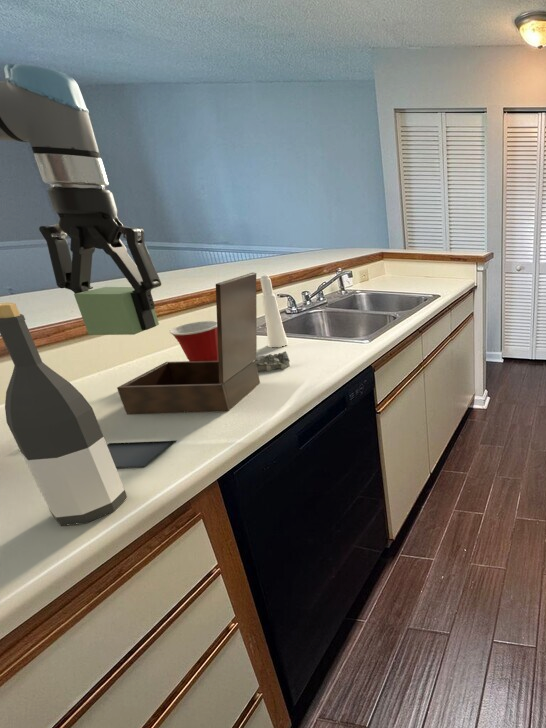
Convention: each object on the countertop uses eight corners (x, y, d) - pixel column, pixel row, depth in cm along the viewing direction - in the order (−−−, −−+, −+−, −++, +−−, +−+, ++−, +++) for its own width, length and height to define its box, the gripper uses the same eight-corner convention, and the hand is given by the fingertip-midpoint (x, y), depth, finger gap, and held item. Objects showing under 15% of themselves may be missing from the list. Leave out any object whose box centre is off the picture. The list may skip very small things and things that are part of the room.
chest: (127, 418, 88) (116, 387, 85) (174, 388, 102) (166, 361, 99) (229, 414, 90) (221, 385, 87) (261, 386, 104) (255, 360, 102)
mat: (72, 470, 70) (71, 468, 70) (120, 437, 80) (120, 435, 80) (144, 467, 71) (143, 465, 71) (183, 435, 81) (182, 433, 81)
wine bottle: (84, 530, 57) (-16, 313, 46) (36, 522, 59) (-73, 309, 47) (142, 494, 65) (68, 299, 53) (98, 487, 66) (17, 296, 55)
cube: (88, 335, 72) (73, 293, 69) (117, 324, 78) (105, 286, 75) (134, 334, 73) (121, 294, 70) (159, 324, 79) (148, 287, 76)
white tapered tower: (291, 345, 135) (278, 275, 127) (270, 349, 132) (256, 277, 123) (285, 341, 139) (272, 273, 131) (265, 344, 136) (250, 274, 127)
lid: (215, 283, 80) (220, 284, 80) (252, 272, 94) (256, 273, 94) (219, 382, 87) (223, 383, 87) (253, 358, 101) (256, 358, 102)
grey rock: (246, 377, 110) (242, 362, 108) (246, 368, 116) (243, 354, 114) (291, 371, 114) (288, 356, 113) (289, 362, 120) (287, 349, 119)
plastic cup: (177, 368, 115) (164, 325, 110) (222, 359, 122) (212, 318, 117) (187, 378, 108) (173, 333, 103) (234, 368, 115) (224, 325, 111)
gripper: (163, 190, 71) (197, 322, 80) (27, 185, 69) (78, 323, 77) (133, 188, 65) (174, 333, 73) (-19, 183, 62) (42, 334, 70)
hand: (125, 328), depth 75 cm, fingers closed on cube, 7 cm apart
